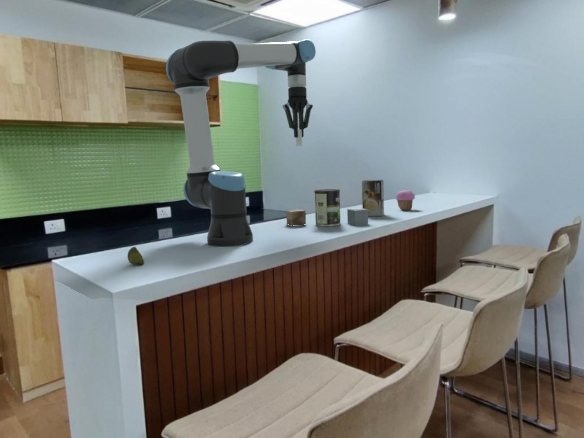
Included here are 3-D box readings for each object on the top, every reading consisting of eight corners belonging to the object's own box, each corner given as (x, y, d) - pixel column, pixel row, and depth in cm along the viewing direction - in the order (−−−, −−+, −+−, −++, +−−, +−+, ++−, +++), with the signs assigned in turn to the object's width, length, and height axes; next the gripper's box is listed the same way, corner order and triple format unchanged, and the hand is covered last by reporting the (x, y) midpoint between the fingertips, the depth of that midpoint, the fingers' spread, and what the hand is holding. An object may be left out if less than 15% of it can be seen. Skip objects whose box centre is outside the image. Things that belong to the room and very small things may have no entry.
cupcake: (418, 209, 206) (418, 189, 205) (406, 211, 201) (406, 190, 200) (404, 208, 214) (404, 188, 212) (392, 210, 209) (392, 190, 207)
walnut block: (292, 226, 168) (291, 211, 167) (286, 224, 174) (286, 210, 173) (305, 225, 171) (305, 210, 170) (300, 223, 176) (299, 208, 175)
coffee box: (384, 214, 194) (384, 179, 192) (382, 216, 188) (381, 180, 186) (364, 214, 197) (364, 180, 195) (361, 216, 191) (361, 180, 189)
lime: (134, 262, 115) (133, 244, 114) (149, 263, 114) (148, 245, 113) (123, 266, 111) (122, 248, 110) (139, 267, 110) (137, 248, 109)
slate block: (355, 225, 165) (354, 210, 164) (347, 223, 171) (347, 208, 170) (368, 224, 168) (367, 208, 167) (360, 222, 173) (360, 207, 172)
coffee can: (341, 222, 174) (340, 188, 172) (339, 226, 164) (338, 190, 162) (317, 222, 176) (316, 189, 174) (313, 226, 166) (312, 191, 164)
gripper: (307, 89, 178) (309, 145, 181) (279, 88, 173) (281, 146, 176) (315, 86, 171) (317, 144, 174) (285, 85, 166) (287, 145, 169)
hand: (299, 145), depth 175 cm, fingers closed
